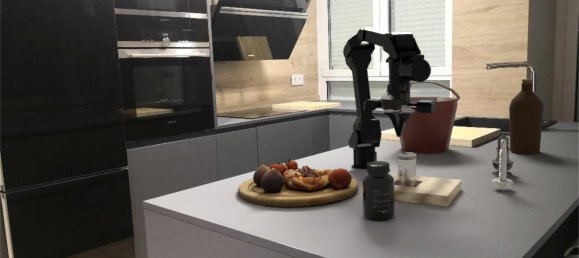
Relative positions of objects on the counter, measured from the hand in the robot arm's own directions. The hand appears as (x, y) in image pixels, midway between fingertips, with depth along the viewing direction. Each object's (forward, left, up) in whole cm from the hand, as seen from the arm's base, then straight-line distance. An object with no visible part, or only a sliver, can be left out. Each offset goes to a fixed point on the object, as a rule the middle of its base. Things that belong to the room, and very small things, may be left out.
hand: (399, 136), depth 135 cm
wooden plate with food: (-22, -19, -13) cm, 32 cm away
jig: (+8, -10, -13) cm, 18 cm away
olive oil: (+27, +55, -13) cm, 63 cm away
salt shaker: (+24, +19, -13) cm, 33 cm away
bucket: (-6, +49, -13) cm, 51 cm away
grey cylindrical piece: (+5, -10, -13) cm, 17 cm away
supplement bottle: (+5, -31, -13) cm, 34 cm away
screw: (+26, +2, -13) cm, 29 cm away
